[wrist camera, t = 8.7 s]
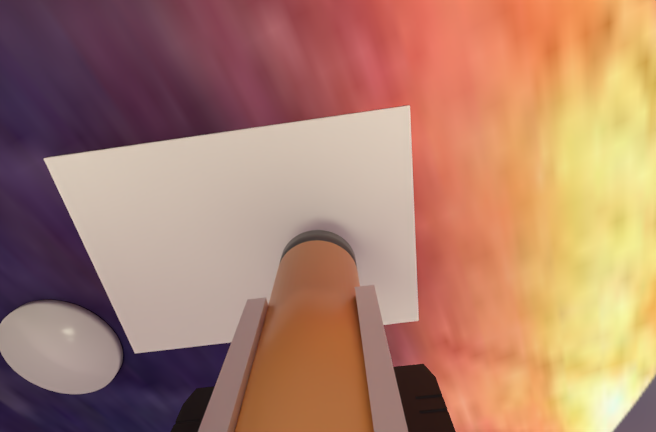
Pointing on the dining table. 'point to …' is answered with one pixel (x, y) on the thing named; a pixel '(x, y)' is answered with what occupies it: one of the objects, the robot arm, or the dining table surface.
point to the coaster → (60, 346)
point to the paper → (241, 218)
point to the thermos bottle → (310, 345)
